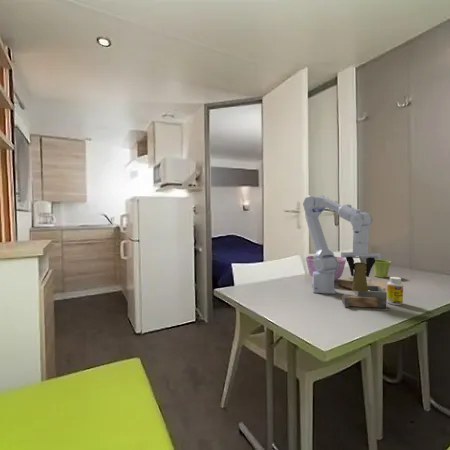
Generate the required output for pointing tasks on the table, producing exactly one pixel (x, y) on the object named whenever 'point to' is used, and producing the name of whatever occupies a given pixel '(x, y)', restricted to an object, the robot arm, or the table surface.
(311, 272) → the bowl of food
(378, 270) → the plant pot
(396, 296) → the supplement bottle
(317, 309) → the table surface
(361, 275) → the olive rounded piece
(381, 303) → the crank
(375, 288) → the tray
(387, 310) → the crank base
